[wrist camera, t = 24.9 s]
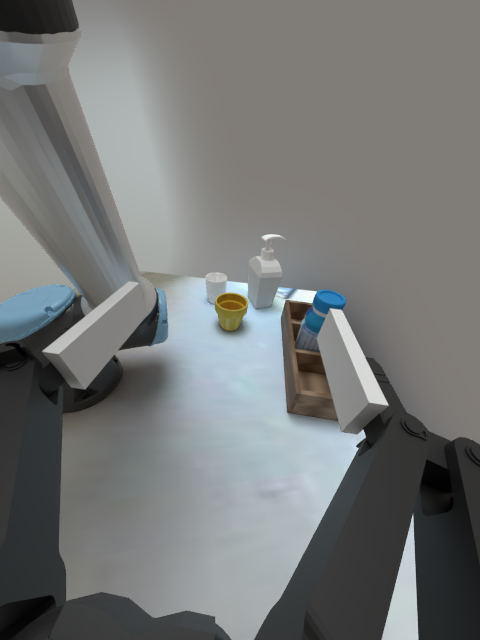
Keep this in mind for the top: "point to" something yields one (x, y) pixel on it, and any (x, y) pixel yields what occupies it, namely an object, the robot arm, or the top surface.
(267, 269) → the soap bottle
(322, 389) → the wooden divided storage box
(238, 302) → the plant pot
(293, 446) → the top surface
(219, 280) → the white cup
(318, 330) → the beverage bottle
